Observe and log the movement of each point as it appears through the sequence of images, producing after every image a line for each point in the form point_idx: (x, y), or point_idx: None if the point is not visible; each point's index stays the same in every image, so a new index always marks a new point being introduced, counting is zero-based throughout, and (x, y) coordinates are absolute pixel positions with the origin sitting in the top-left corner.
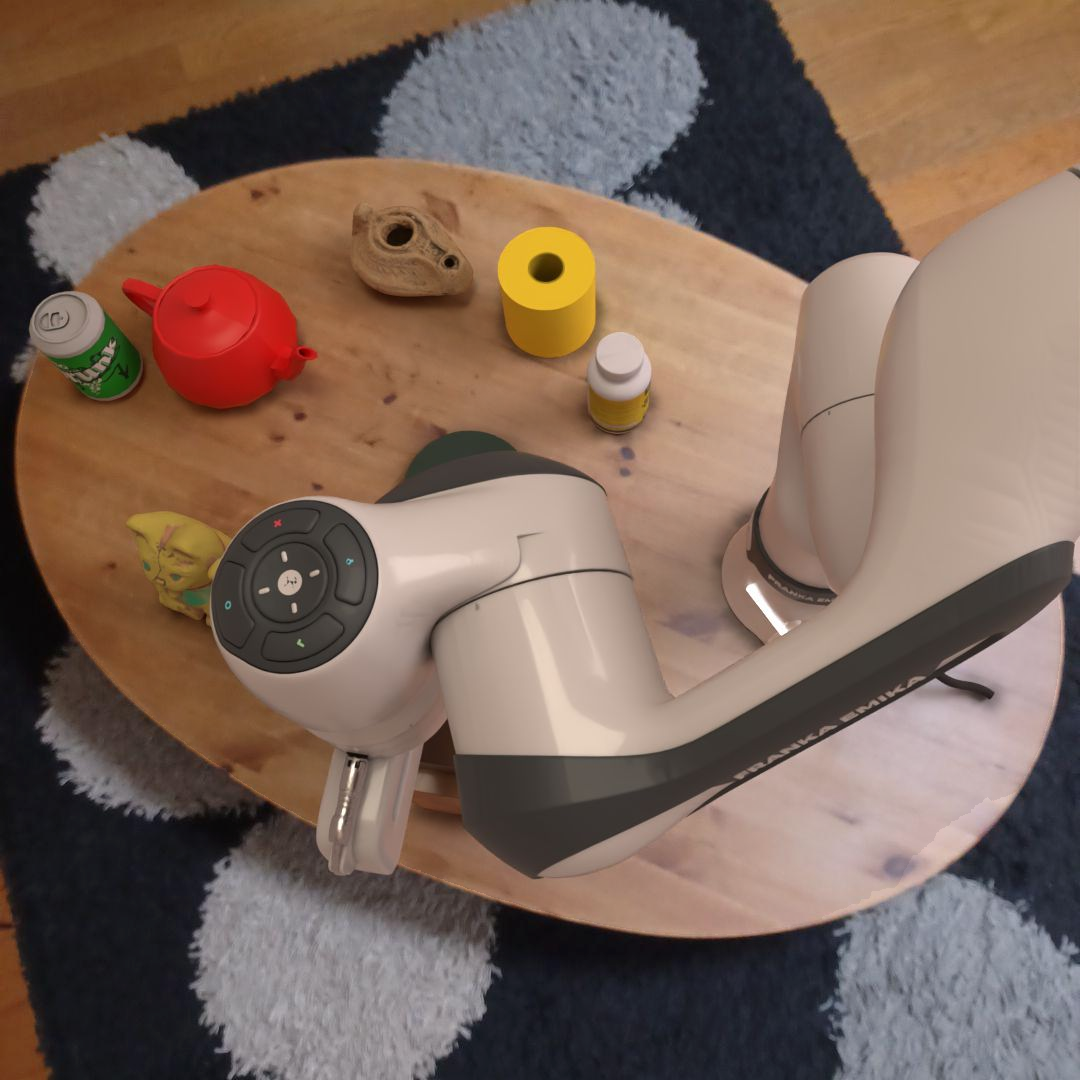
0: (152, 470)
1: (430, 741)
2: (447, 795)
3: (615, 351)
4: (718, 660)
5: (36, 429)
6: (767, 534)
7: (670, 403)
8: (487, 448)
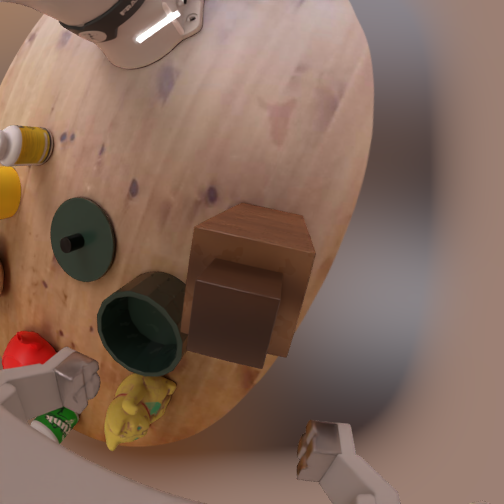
0: (101, 402)
1: (242, 330)
2: (303, 292)
3: None
4: (192, 65)
5: (98, 437)
6: (83, 9)
7: (42, 115)
8: (58, 227)
